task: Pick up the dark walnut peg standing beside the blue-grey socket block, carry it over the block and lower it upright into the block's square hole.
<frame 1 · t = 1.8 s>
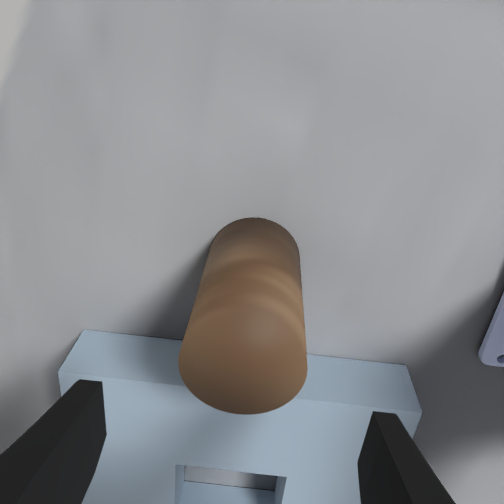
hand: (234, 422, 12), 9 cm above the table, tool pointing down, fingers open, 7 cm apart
socket block: (232, 455, 26), on the table
walnut peg: (254, 259, 20), on the table
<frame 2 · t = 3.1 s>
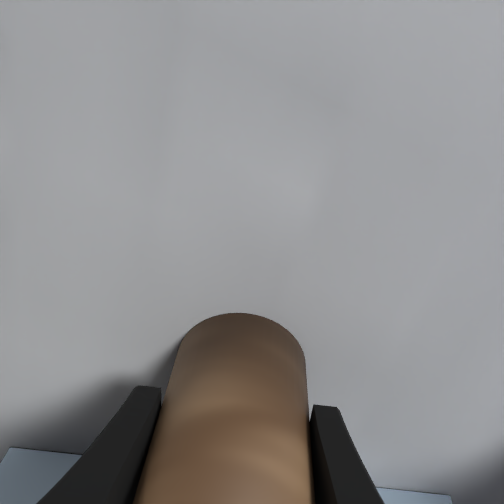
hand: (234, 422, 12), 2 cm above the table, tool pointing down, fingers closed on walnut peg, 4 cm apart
walnut peg: (240, 365, 14), on the table, touching gripper
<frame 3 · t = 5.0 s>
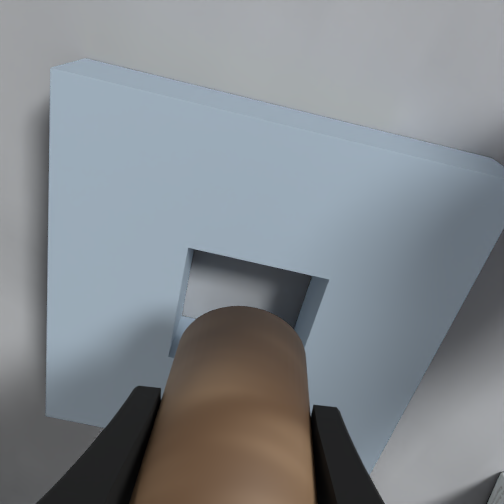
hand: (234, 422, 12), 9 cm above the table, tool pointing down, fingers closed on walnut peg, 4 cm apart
socket block: (248, 281, 21), on the table
walnut peg: (241, 360, 14), point 7 cm above the table, touching gripper
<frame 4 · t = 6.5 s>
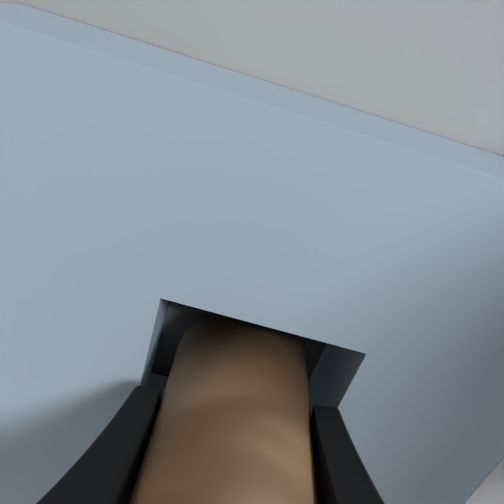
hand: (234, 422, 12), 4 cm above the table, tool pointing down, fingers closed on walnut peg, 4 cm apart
socket block: (244, 334, 16), on the table
walnut peg: (241, 360, 14), point 1 cm above the table, touching gripper
when the fingers open (4 cm above the table, at t = 7.3 s): walnut peg drops 1 cm, resting in socket block.
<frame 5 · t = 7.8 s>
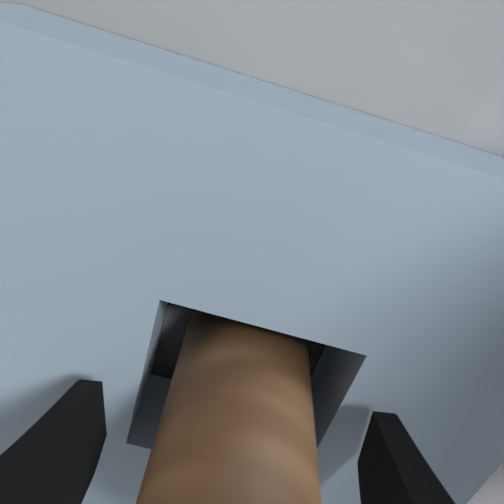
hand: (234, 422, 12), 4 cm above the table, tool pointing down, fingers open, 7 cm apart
socket block: (244, 335, 16), on the table
walnut peg: (247, 332, 16), resting in socket block
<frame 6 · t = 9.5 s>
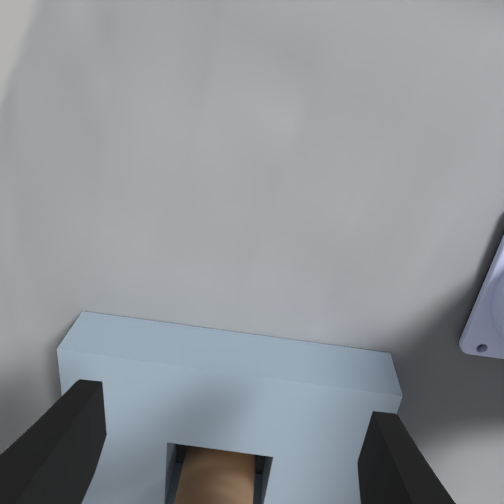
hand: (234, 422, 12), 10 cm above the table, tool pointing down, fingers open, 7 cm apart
socket block: (222, 438, 27), on the table
walnut peg: (223, 436, 27), resting in socket block
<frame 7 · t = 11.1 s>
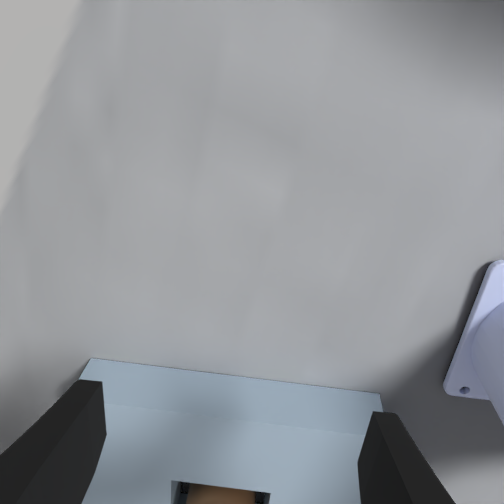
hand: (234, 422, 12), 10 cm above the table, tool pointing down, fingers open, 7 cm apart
socket block: (224, 471, 29), on the table
walnut peg: (225, 469, 29), resting in socket block
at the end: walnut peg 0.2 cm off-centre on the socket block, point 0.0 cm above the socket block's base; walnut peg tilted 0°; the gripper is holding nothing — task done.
